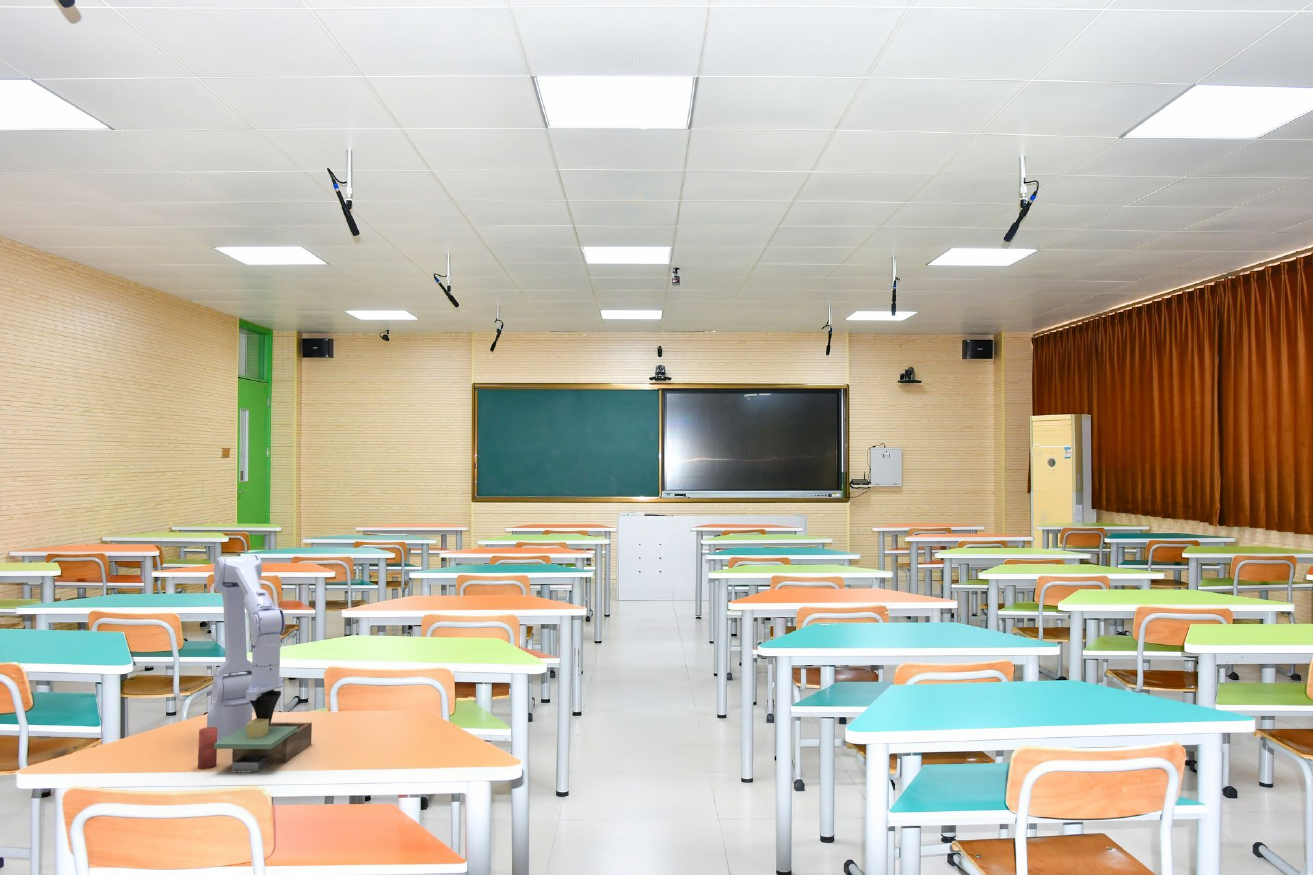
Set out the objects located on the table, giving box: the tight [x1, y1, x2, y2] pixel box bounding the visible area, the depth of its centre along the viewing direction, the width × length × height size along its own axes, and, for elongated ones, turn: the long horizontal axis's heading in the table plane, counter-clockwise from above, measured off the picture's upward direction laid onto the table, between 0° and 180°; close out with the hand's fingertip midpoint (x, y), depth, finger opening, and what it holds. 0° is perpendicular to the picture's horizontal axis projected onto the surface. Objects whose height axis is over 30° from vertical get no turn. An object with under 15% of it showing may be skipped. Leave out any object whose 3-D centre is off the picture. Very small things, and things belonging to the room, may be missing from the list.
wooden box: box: [231, 721, 313, 763], centre depth 202 cm, size 12×14×5 cm
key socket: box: [231, 755, 271, 773], centre depth 191 cm, size 6×6×2 cm
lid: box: [214, 718, 298, 750], centre depth 194 cm, size 12×14×4 cm
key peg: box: [197, 726, 218, 770], centre depth 192 cm, size 4×4×8 cm
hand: (264, 725), depth 197 cm, fingers closed
